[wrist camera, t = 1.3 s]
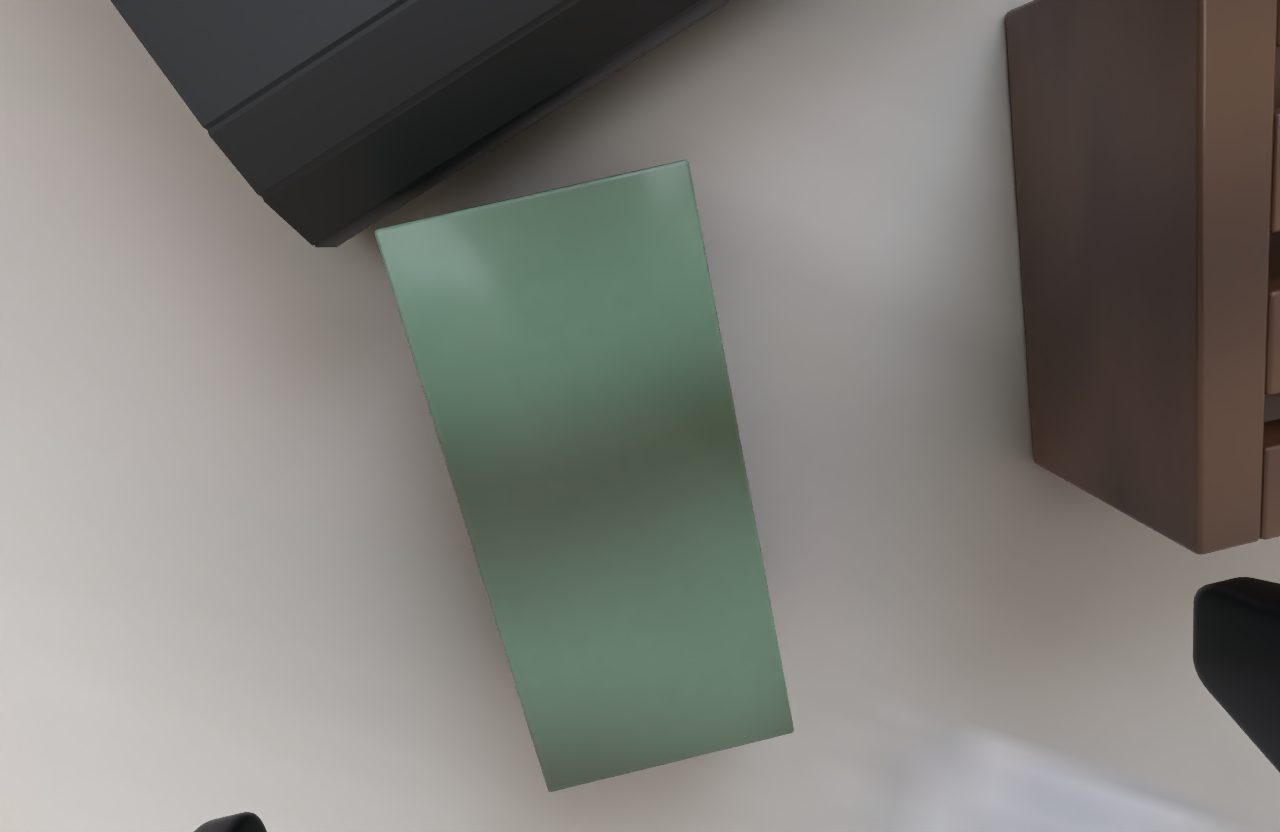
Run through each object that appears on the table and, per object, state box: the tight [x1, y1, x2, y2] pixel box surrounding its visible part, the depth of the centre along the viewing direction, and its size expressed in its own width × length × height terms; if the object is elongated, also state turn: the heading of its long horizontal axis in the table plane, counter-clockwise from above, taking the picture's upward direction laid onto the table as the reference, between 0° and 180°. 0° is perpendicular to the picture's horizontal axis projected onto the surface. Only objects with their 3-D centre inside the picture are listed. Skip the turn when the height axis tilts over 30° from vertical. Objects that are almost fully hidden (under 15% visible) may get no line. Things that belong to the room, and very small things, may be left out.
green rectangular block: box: [375, 160, 794, 792], centre depth 15 cm, size 11×5×4 cm, turn 12°
